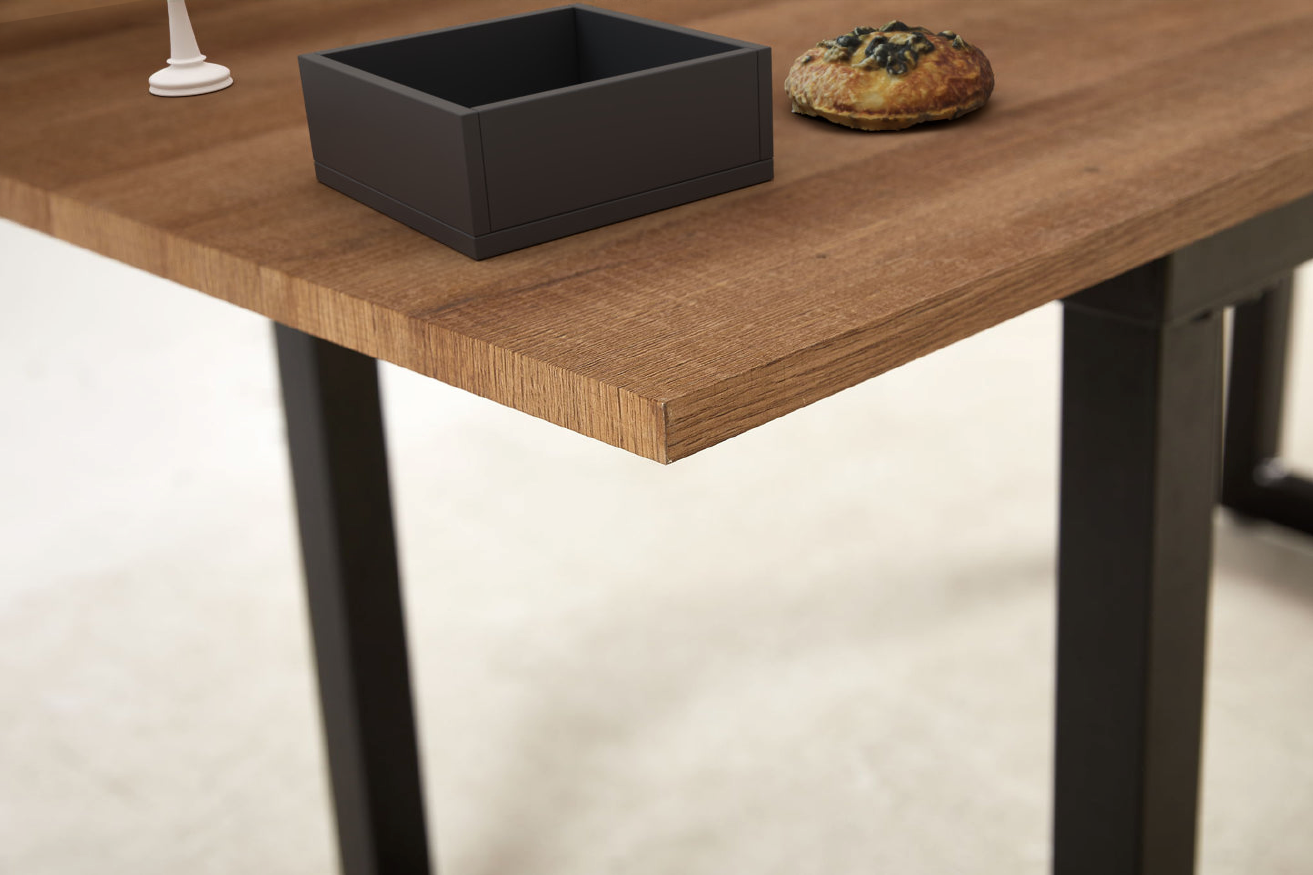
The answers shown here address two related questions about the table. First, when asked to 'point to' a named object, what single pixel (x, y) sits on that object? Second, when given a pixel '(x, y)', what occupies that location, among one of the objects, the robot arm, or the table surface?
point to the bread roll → (890, 77)
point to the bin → (538, 123)
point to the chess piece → (186, 61)
